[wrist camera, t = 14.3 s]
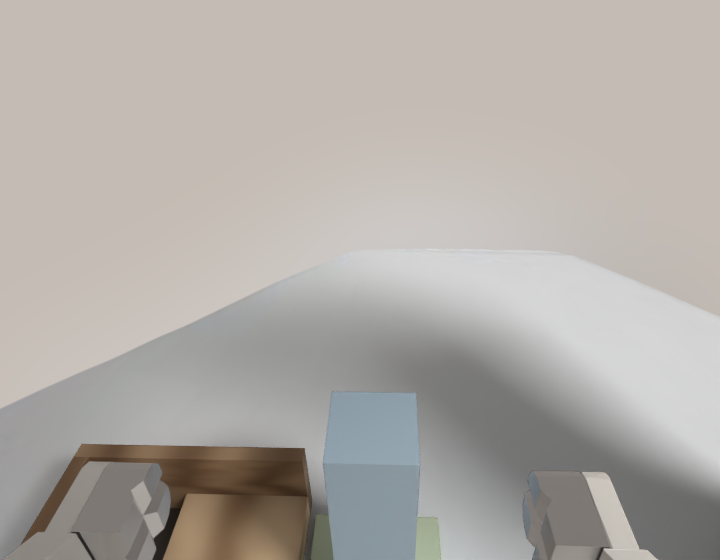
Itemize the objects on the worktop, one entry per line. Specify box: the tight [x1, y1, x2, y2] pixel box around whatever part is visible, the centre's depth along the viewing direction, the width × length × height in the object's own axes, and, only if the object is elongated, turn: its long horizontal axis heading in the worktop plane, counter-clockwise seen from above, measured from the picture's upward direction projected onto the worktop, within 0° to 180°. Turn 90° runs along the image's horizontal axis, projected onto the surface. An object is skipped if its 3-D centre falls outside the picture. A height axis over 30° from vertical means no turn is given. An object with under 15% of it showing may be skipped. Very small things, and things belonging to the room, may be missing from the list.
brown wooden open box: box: [21, 444, 312, 560], centre depth 37 cm, size 18×13×7 cm
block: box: [323, 392, 420, 560], centre depth 33 cm, size 5×5×17 cm
